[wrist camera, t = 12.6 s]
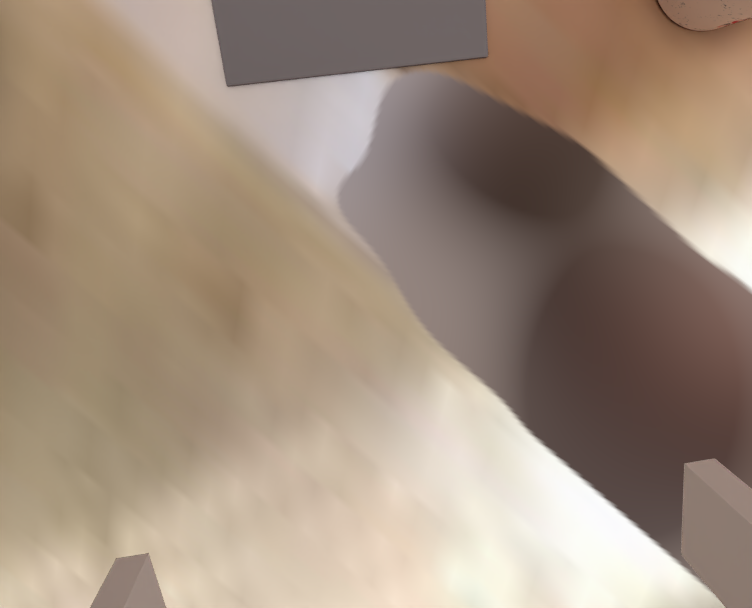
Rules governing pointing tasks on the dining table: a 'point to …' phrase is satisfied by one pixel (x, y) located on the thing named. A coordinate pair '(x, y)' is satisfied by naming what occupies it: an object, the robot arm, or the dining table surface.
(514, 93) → the dining table surface
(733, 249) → the dining table surface
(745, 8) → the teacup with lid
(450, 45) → the mat
